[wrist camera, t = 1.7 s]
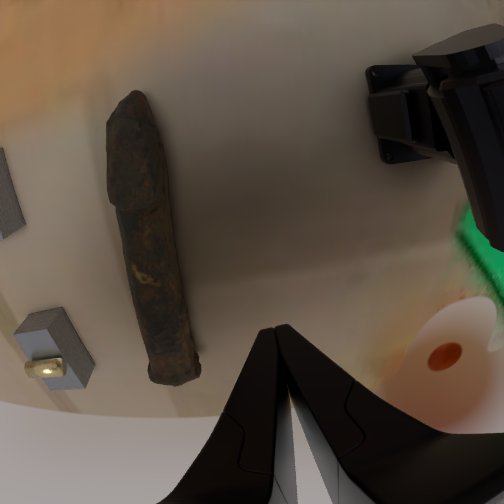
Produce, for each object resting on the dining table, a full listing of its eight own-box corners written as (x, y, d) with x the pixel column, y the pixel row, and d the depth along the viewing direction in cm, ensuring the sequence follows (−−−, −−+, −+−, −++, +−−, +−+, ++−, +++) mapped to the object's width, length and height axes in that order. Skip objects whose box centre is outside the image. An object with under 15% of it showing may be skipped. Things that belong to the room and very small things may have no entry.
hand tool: (202, 353, 24) (200, 396, 20) (153, 353, 24) (144, 395, 19) (188, 90, 17) (178, 80, 12) (124, 96, 16) (96, 90, 12)
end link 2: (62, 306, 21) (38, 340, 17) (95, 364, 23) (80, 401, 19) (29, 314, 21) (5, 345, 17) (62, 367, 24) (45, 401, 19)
